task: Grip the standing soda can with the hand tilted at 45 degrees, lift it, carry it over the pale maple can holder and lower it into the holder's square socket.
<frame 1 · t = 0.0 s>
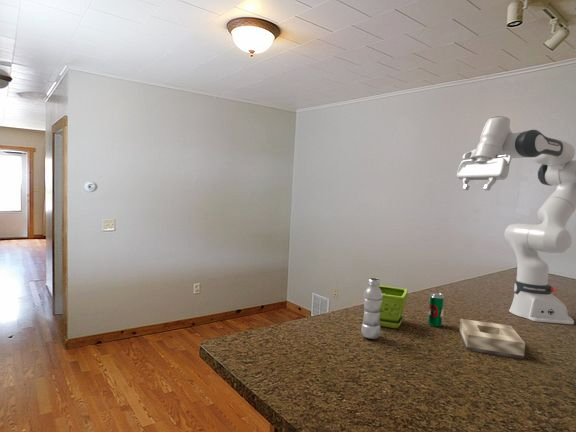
hand: (475, 189, 138), 52 cm above the countertop, tool tilted 20°, fingers open, 8 cm apart
flower pot: (385, 323, 137), on the countertop
soda can: (434, 325, 137), on the countertop
can holder: (488, 344, 121), on the countertop
plastic bottle: (370, 338, 122), on the countertop
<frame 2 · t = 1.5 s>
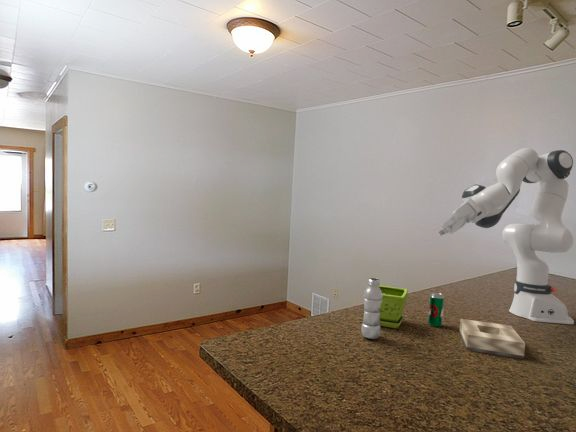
hand: (441, 230, 142), 35 cm above the countertop, tool tilted 55°, fingers open, 8 cm apart
nothing on the countertop moved.
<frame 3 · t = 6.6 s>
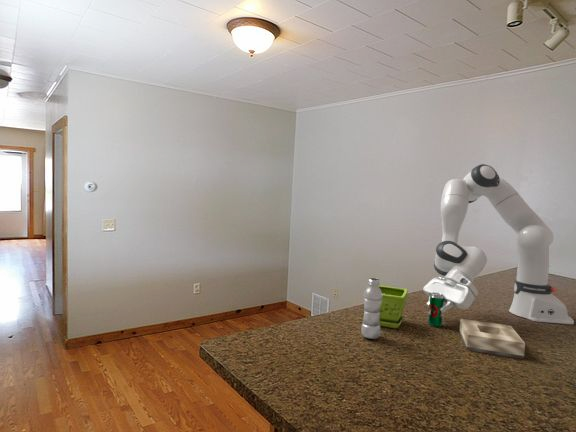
hand: (434, 308, 136), 6 cm above the countertop, tool tilted 45°, fingers closed on soda can, 5 cm apart
soda can: (434, 325, 137), on the countertop, touching gripper
everything else where it was.
when the fingers open (9 cm above the countertop, at t = 11.9 s): soda can stays where it is, resting on can holder.
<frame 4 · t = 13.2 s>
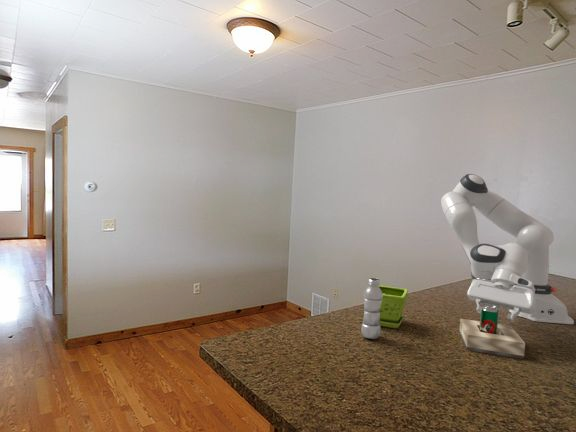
hand: (493, 315, 120), 10 cm above the countertop, tool tilted 45°, fingers open, 8 cm apart
soda can: (487, 342, 120), point 1 cm above the countertop, touching can holder
everything else where it was.
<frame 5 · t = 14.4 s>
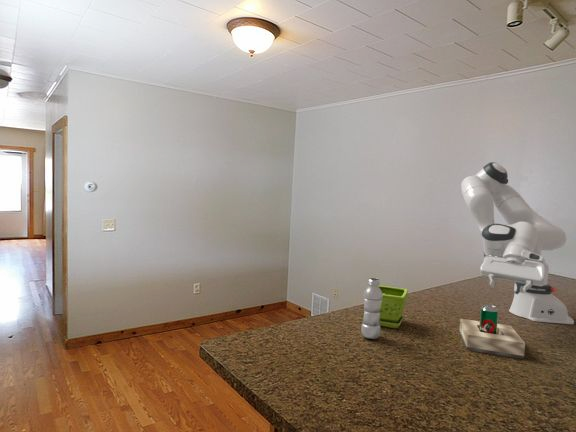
hand: (506, 289, 126), 18 cm above the countertop, tool tilted 45°, fingers open, 8 cm apart
nothing on the countertop moved.
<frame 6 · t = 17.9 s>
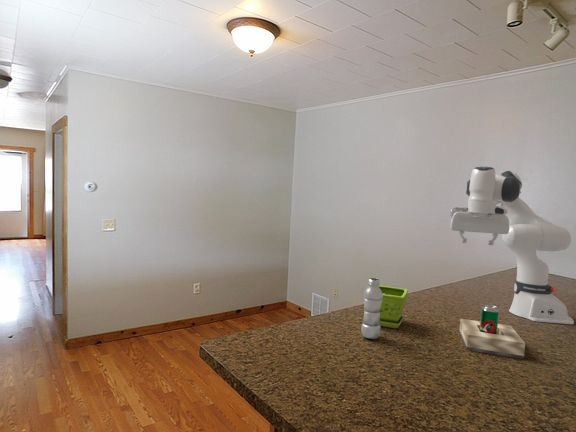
hand: (477, 244, 140), 31 cm above the countertop, tool pointing down, fingers open, 8 cm apart
nothing on the countertop moved.
at the end: soda can 1.0 cm off-centre on the can holder, point 0.8 cm above the can holder's base; soda can tilted 0°; the gripper is holding nothing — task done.
